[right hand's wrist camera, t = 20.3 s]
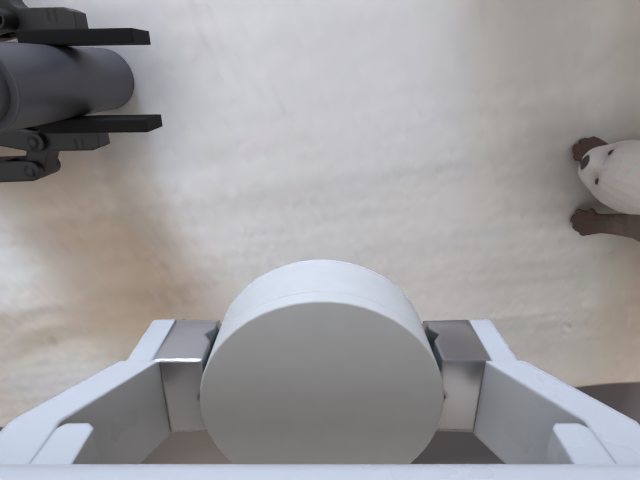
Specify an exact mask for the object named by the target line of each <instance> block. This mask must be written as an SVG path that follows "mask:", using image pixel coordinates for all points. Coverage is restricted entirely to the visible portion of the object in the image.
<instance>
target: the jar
mask: <svg viewBox="0 0 640 480" xmlns="http://www.w3.org/2000/svg"><path fill="white" fill-rule="evenodd" d="M133 89H134V79H133V75H132V72H131V69H130V68H129V66H128V64H127V63H126V62H125V60H124V59H123V58H122V57H121V56H119V55H118V54H117V53H115V52H113V51H110V50H107V49H102V48H87V47H73V46H58V45H44V44H29V43H15V42H0V134H1V133H5V132H10V131H14V130H19V129H23V128H28V127H33V126H37V125H42V124H46V123H51V122H55V121H60V120H65V119H69V118H74V117H78V116H83V115H87V114H92V113H96V112H101V111H106V110H110V109H115V108H118V107H121V106H123V105H124V104H125V103H126V102H127V101H128V100H129V99H130V97H131V95H132V93H133Z"/></svg>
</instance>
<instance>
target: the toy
mask: <svg viewBox="0 0 640 480" xmlns="http://www.w3.org/2000/svg"><path fill="white" fill-rule="evenodd" d="M573 152H574V157H573V158H574V159H575V160H578V161H581V162H580V164H579V168H578V176H579V178H580V180H581V181H582V182H583V183H584V185H585V186H586V187H587V188H588V189H589V190H590V192H591V193H592V194H593V195H594V196H595V197H596V198H597V199H598V200H599V201H600V202H601V203H603V204H605V205H606V206H608V207H610V208H612V209H614V210H616V211H618V212H622V213H626V214H598V213H596V211H595V210H594V209H593V208H590V209H588V210H587V211H584V210H580V209H579V210H576V214H575V215H573V216H572V218H571V220H570V221H571V222H573V223H574V224H573V226H572V227H573V228H574V229H575V231H578V232H579V233H580V235H582V236H585V235H591V234H597V233H607V234H614V235H620V236H625V237H630V238H634V239H635V240H637V241H639V242H640V140H633V139H630V140H623V141H619V142H615V143H612V144H607V143H606V142H604V141H602V140H601V139H599V138H597V137H594V136H593V137H591V138H583V139H581V140H579V144H576V145H574V146H573Z"/></svg>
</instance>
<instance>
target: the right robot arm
mask: <svg viewBox="0 0 640 480" xmlns="http://www.w3.org/2000/svg"><path fill="white" fill-rule="evenodd" d="M221 325H222V324H221V322H220V320H176V319H163V320H154V321H152V322H151V324H150V326H149V327H148V329H147V330H146V332H145V333H144V335H143V336H142V338H141V339H140V341H139V342H138V344H137V345H136V347H135V348H134V350H133V351H132V353H131V354H130V356H129V357H128V359H127V360H126V361H119V362H117V363H115V364H113V365H111V366H110V367H108V368H106V369H104V370H102V371H100V372H99V373H97V374H95V375H93V376H91V377H89V378H88V379H86V380H84V381H82V382H80V383H78V384H77V385H75V386H73V387H71V388H69V389H67V390H66V391H64V392H62V393H60V394H58V395H56V396H55V397H53V398H51V399H49V400H47V401H46V402H44V403H42V404H40V405H38V406H36V407H35V408H33V409H31V410H29V411H27V412H25V413H24V414H22V415H20V416H18V417H16V418H14V419H13V420H11V421H9V422H8V423H7V425H6V426H5V427H4V428H3V429H2V430H1V431H0V480H640V425H639V424H638V422H636V421H634V420H632V419H631V418H629V417H627V416H625V415H623V414H621V413H620V412H618V411H616V410H614V409H612V408H610V407H608V406H607V405H605V404H603V403H601V402H599V401H597V400H596V399H594V398H592V397H590V396H588V395H586V394H585V393H583V392H581V391H579V390H577V389H575V388H574V387H572V386H570V385H568V384H566V383H564V382H563V381H561V380H559V379H557V378H555V377H553V376H552V375H550V374H548V373H546V372H544V371H542V370H540V369H539V368H537V367H535V366H533V365H531V364H529V363H528V362H526V361H518V360H517V358H516V357H515V356H514V354H513V353H512V351H511V350H510V348H509V347H508V345H507V344H506V342H505V341H504V339H503V338H502V336H501V335H500V333H499V332H498V331H497V329H496V328H495V326H494V325H493V323H492V322H491V321H490V320H488V319H478V320H447V321H423V323H422V326H423V329H424V332H425V334H426V337H427V339H428V342H429V344H430V347H431V350H432V352H433V355H434V357H435V360H436V363H437V365H438V368H439V370H440V373H441V377H442V382H443V387H444V403H443V411H442V415H441V418H440V422H439V425H438V427H437V429H436V431H459V432H474V435H475V436H476V437H478V438H479V439H480V440H481V441H482V442H483V443H484V444H485V445H486V446H487V447H488V448H489V449H490V450H491V451H492V452H493V453H494V454H495V455H497V456H498V457H499V458H500V459H501V460H502V461H503V462H504V463H505V464H140V463H141V462H142V461H143V460H144V459H145V458H146V457H147V456H148V455H149V454H150V453H151V452H152V451H153V450H154V449H155V448H156V447H157V446H159V445H160V444H161V443H162V442H163V441H164V440H165V439H166V438H167V437H168V436H169V435H170V432H185V431H208V430H207V428H206V426H205V423H204V420H203V416H202V413H201V405H200V386H201V381H202V376H203V373H204V370H205V367H206V365H207V362H208V359H209V357H210V354H211V351H212V349H213V346H214V343H215V341H216V338H217V335H218V333H219V330H220V327H221Z"/></svg>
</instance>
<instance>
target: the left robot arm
mask: <svg viewBox="0 0 640 480" xmlns="http://www.w3.org/2000/svg"><path fill="white" fill-rule="evenodd" d="M15 38H17V39H18V43H29V44H44V45H58V46H101V45H151V44H150V37H149V31H144V30H139V29H133V28H107V29H88V24H87V18H86V14H85V13H82V12H80V11H77V10H74V9H69V8H64V7H55V8H28V7H27V6H26V5H25V4H24V2H23V1H22V0H0V42H4V41H8V40H12V39H15ZM159 127H162V120H161V114H160V115H92V116H78V117H74V118H69V119H65V120H60V121H55V122H51V123H46V124H42V125H37V126H33V127H28V128H23V129H19V130H14V131H10V132H5V133H1V134H0V146H4V147H10V148H15V149H20V150H25V151H27V155H26V156H5V157H0V182H18V181H34V180H38V179H40V178H43V177H45V176H47V175H50V174H52V173H55V172H57V171H58V170H59V169H60V167H61V164H60V161H59V159H58V154H59V152H60V151H75V150H95V149H97V148H100V147H103V146H105V145H107V144H109V143H110V141H109V136H108V133H118V132H149V131H152V130H154V129H157V128H159Z"/></svg>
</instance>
